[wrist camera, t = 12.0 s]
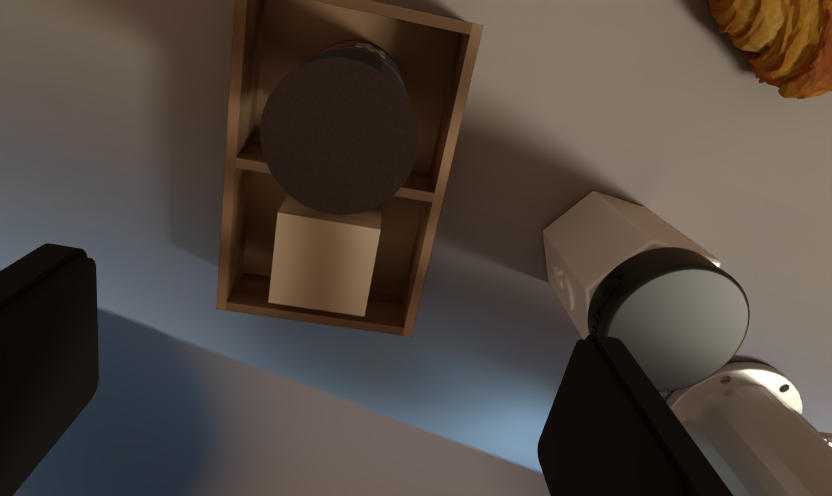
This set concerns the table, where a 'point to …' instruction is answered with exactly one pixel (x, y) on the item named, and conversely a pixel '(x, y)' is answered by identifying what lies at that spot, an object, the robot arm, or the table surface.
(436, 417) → the table surface
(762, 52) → the croissant
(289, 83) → the deodorant
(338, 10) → the box
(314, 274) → the beech block
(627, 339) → the jar
